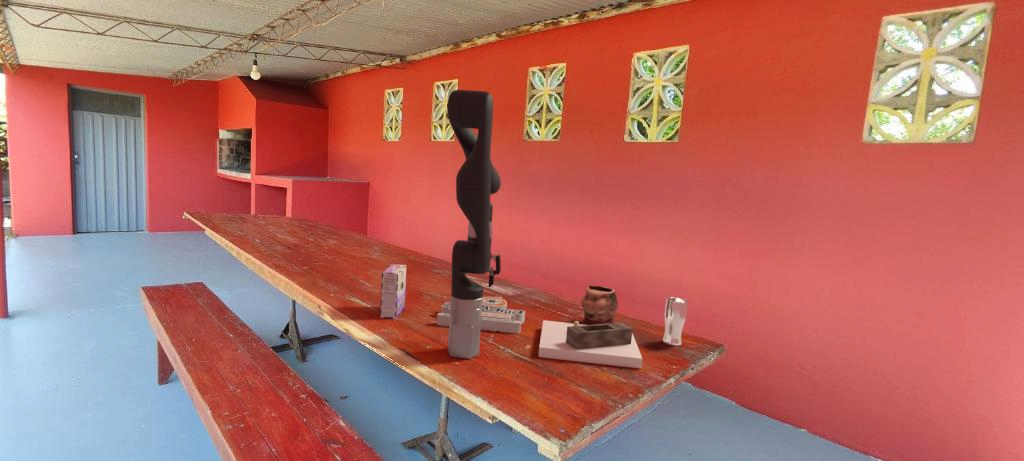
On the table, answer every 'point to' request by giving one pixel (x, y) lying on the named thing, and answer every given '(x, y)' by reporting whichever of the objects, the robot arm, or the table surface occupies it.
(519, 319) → the sign
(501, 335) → the table surface
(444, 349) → the table surface
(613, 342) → the frame
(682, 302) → the beer glass
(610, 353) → the wall plate
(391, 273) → the candy box
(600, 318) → the decorative planter
